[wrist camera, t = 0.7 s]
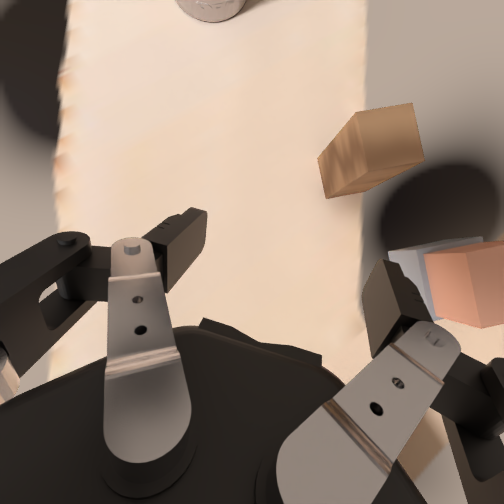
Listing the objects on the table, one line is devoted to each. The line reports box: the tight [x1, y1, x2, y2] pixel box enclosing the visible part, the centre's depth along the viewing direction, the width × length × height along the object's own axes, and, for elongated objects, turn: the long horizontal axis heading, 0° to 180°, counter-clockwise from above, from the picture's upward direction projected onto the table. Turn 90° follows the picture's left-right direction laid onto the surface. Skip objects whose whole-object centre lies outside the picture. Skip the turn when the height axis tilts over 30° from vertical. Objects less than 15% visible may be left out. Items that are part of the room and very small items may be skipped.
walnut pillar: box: [317, 103, 425, 199], centre depth 27 cm, size 5×5×10 cm
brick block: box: [423, 241, 504, 329], centre depth 25 cm, size 6×6×5 cm
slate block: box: [388, 236, 484, 321], centre depth 30 cm, size 8×8×5 cm
